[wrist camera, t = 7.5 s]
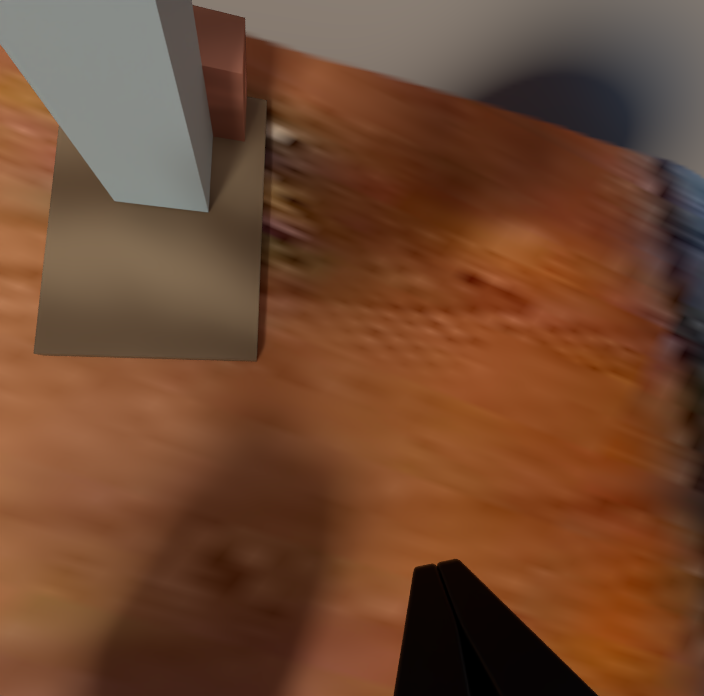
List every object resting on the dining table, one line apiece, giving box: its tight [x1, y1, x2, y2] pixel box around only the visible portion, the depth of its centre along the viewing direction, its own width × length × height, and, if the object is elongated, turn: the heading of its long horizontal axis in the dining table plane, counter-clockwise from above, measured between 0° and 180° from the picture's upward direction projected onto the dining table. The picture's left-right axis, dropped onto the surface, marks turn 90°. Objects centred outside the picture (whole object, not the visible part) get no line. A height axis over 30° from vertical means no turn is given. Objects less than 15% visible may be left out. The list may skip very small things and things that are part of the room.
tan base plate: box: [34, 5, 267, 361], centre depth 16 cm, size 14×9×5 cm, turn 179°
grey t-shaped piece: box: [0, 0, 213, 212], centre depth 12 cm, size 4×8×13 cm, turn 89°
